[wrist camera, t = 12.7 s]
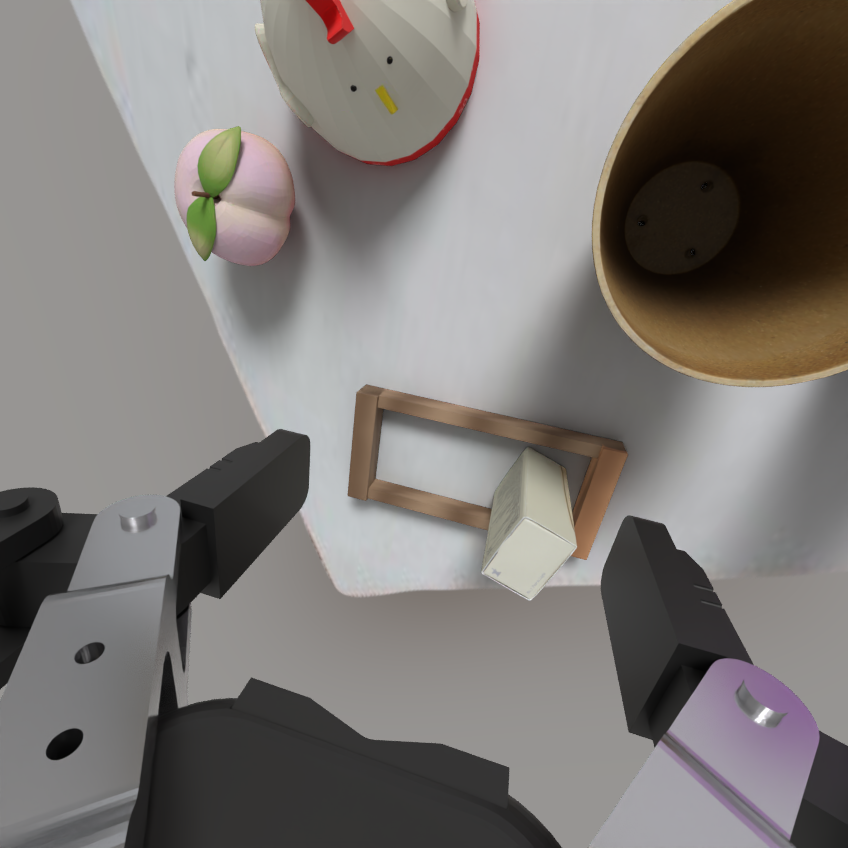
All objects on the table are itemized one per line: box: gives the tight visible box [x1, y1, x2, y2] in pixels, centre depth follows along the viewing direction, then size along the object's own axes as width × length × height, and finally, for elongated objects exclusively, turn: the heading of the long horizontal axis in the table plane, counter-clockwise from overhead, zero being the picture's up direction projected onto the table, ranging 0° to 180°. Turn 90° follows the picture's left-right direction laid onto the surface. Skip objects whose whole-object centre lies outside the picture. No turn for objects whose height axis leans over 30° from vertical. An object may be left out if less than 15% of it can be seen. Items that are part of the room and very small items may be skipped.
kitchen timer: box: [255, 0, 480, 166], centre depth 24 cm, size 14×14×15 cm
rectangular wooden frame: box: [348, 385, 628, 560], centre depth 41 cm, size 24×11×2 cm, turn 81°
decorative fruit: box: [174, 126, 295, 266], centre depth 32 cm, size 9×8×10 cm
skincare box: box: [481, 447, 577, 600], centre depth 36 cm, size 6×4×12 cm
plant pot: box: [592, 0, 848, 387], centre depth 24 cm, size 15×15×16 cm
